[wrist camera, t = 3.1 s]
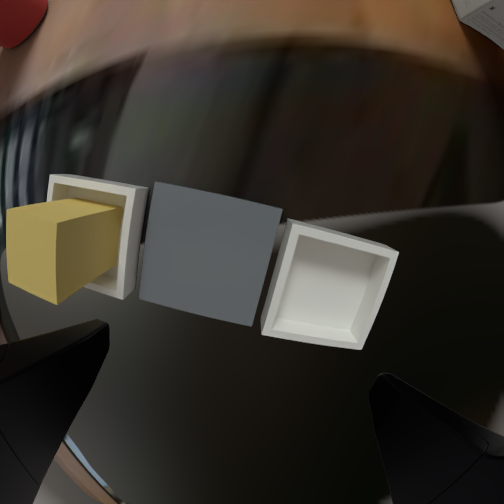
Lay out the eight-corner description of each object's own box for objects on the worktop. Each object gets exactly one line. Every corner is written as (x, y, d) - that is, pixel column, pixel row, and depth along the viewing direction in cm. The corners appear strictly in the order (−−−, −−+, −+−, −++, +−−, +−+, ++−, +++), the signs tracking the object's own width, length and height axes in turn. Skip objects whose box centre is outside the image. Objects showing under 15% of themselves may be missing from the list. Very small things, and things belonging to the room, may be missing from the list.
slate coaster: (251, 323, 19) (251, 326, 18) (141, 296, 18) (138, 298, 18) (281, 208, 17) (282, 209, 16) (157, 181, 16) (155, 181, 16)
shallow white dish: (135, 287, 18) (122, 299, 16) (60, 264, 18) (44, 272, 16) (149, 187, 17) (135, 188, 14) (68, 174, 16) (50, 174, 14)
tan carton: (116, 265, 17) (57, 306, 11) (72, 252, 17) (8, 283, 10) (123, 207, 16) (56, 223, 10) (76, 197, 16) (6, 209, 9)
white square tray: (351, 334, 19) (361, 349, 17) (260, 318, 19) (261, 334, 16) (384, 244, 17) (399, 252, 15) (287, 218, 17) (292, 223, 15)
